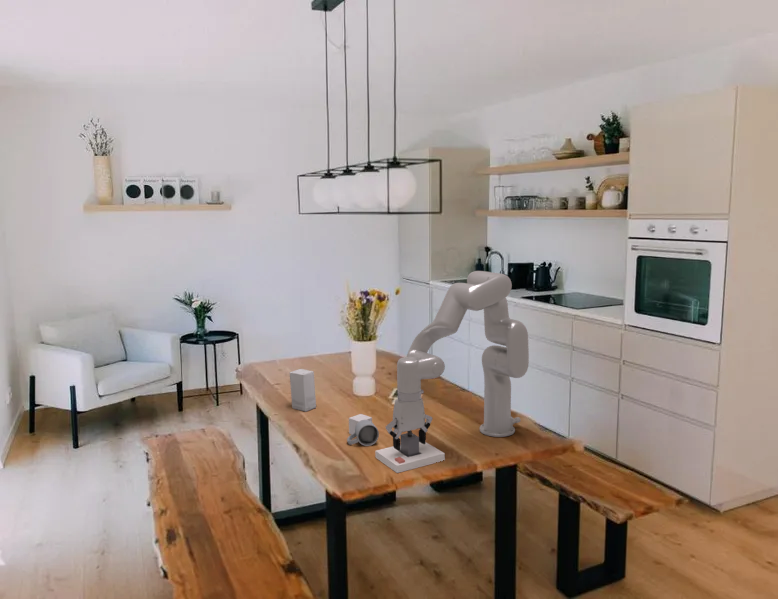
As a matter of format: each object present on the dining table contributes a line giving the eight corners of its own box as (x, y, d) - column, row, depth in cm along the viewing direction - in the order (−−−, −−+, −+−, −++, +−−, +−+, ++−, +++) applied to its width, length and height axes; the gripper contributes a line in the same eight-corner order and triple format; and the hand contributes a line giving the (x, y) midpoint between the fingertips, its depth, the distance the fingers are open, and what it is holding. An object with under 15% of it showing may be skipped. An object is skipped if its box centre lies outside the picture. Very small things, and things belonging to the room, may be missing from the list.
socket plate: (421, 446, 219) (421, 437, 218) (444, 460, 207) (444, 451, 206) (375, 457, 210) (375, 448, 209) (397, 473, 198) (397, 463, 197)
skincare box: (316, 408, 260) (315, 371, 257) (304, 412, 255) (303, 374, 252) (302, 404, 265) (301, 367, 262) (290, 408, 260) (288, 371, 257)
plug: (411, 455, 212) (410, 427, 210) (419, 460, 207) (418, 432, 206) (400, 457, 210) (400, 429, 208) (408, 463, 205) (408, 434, 204)
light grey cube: (372, 433, 232) (372, 417, 231) (360, 437, 227) (359, 421, 226) (361, 429, 236) (360, 413, 235) (349, 433, 232) (348, 417, 231)
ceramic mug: (374, 436, 228) (373, 415, 227) (379, 444, 221) (378, 423, 219) (345, 440, 226) (344, 419, 225) (349, 448, 218) (348, 427, 217)
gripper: (425, 388, 212) (425, 437, 215) (380, 397, 204) (381, 447, 207) (437, 394, 206) (438, 444, 209) (391, 403, 197) (392, 455, 200)
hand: (409, 445), depth 208 cm, fingers open, 9 cm apart
